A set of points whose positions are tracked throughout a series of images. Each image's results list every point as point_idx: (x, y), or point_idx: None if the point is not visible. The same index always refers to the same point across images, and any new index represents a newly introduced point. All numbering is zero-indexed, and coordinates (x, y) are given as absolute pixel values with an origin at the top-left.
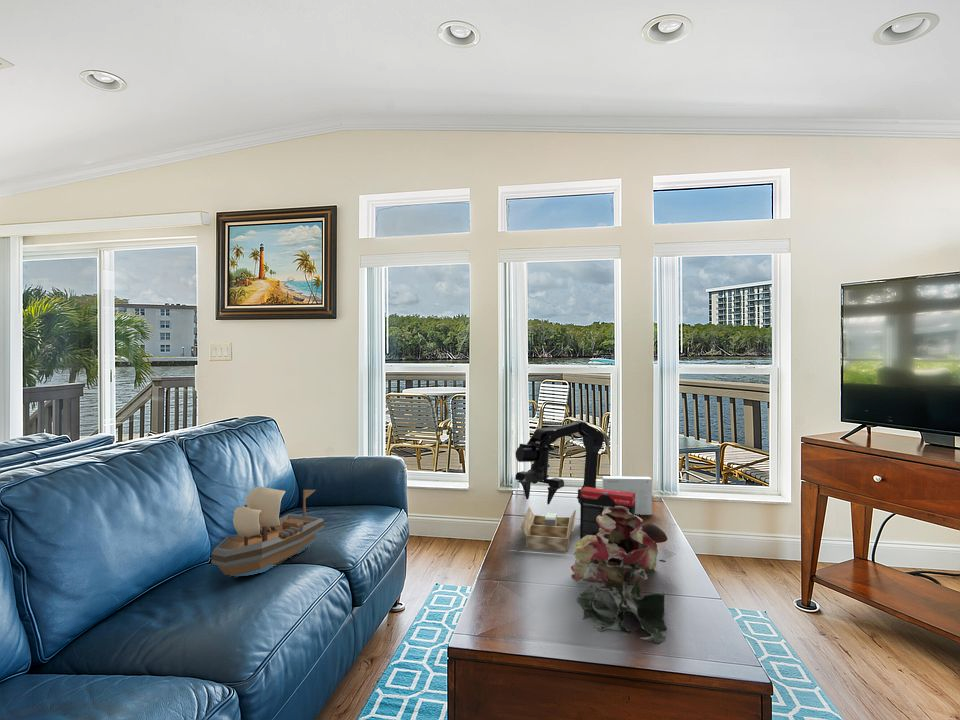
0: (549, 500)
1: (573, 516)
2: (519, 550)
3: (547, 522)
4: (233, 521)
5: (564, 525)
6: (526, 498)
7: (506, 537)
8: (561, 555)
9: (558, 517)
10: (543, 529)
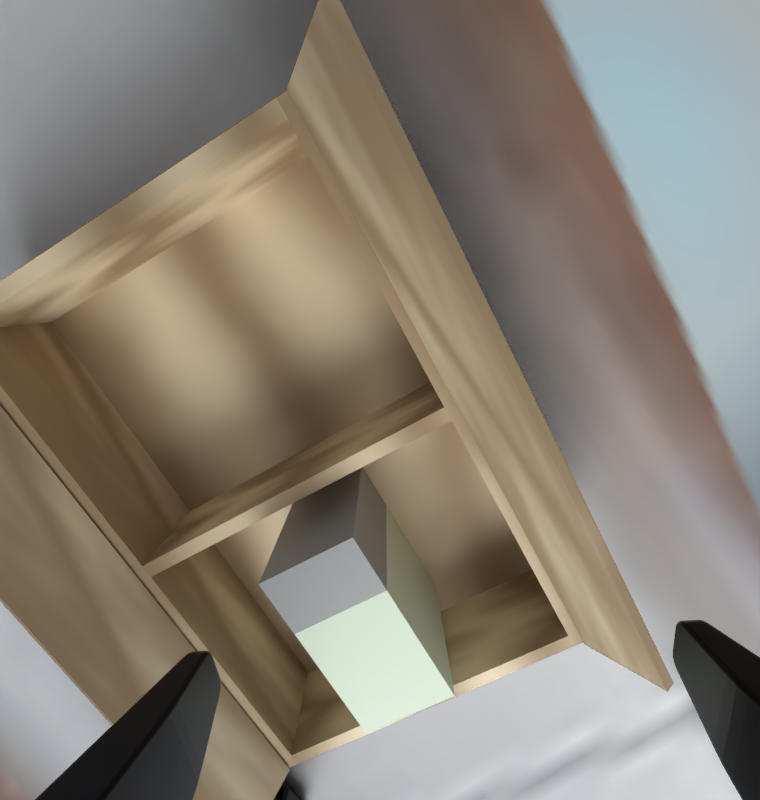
0: (109, 732)
1: None
2: None
3: (330, 531)
4: None
5: None
6: (706, 630)
7: (602, 249)
8: (33, 234)
9: None
10: (338, 451)
